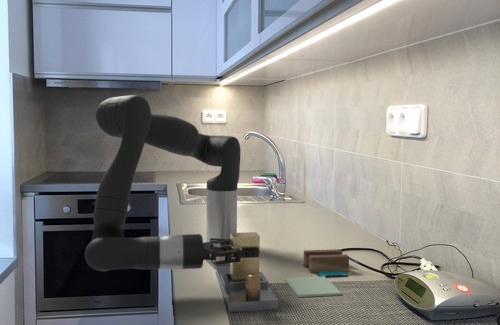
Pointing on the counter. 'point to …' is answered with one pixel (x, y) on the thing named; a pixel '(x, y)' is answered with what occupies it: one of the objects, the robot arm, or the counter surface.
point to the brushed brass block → (246, 264)
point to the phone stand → (326, 260)
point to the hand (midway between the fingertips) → (256, 249)
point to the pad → (312, 286)
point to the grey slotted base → (246, 292)
